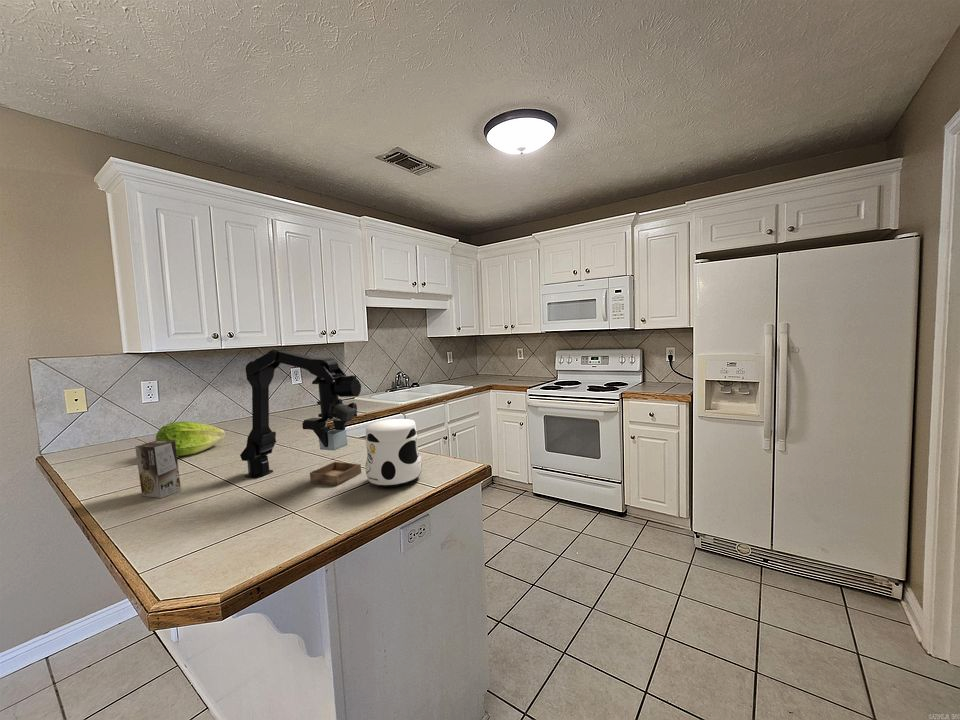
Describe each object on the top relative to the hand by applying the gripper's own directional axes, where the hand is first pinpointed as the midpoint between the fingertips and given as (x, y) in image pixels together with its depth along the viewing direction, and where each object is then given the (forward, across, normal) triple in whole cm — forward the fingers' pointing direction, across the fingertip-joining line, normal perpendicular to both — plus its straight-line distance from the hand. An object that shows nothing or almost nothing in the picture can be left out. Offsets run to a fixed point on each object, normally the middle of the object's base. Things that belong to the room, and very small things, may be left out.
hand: (333, 444), depth 130 cm
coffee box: (+11, -26, +47) cm, 55 cm away
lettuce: (+11, +7, +85) cm, 86 cm away
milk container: (+12, +3, -21) cm, 24 cm away
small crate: (+1, 0, 0) cm, 1 cm away
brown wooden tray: (+11, 0, 0) cm, 11 cm away
